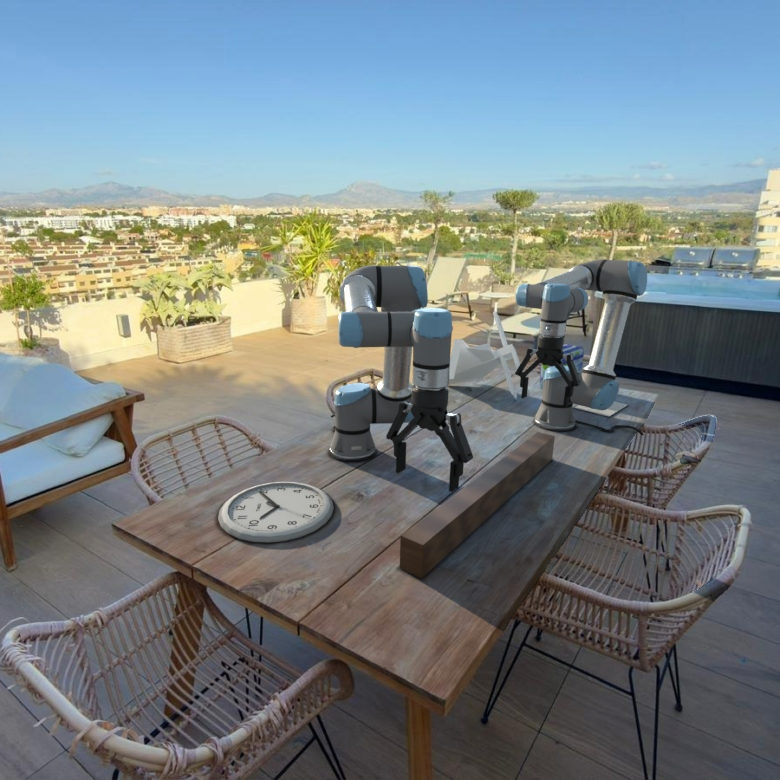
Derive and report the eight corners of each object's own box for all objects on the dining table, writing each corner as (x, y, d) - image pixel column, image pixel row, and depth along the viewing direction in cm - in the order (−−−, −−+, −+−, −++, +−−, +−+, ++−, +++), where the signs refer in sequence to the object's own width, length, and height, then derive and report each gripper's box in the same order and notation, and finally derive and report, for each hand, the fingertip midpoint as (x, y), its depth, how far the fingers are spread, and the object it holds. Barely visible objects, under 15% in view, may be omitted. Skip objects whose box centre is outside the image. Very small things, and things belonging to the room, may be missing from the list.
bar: (535, 454, 177) (537, 431, 175) (552, 459, 174) (554, 436, 171) (399, 568, 117) (400, 535, 114) (421, 578, 114) (422, 545, 111)
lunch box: (556, 397, 238) (561, 352, 232) (535, 391, 245) (539, 348, 239) (582, 385, 256) (588, 344, 249) (562, 381, 263) (567, 340, 257)
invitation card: (608, 416, 214) (573, 407, 224) (608, 416, 214) (573, 408, 224) (628, 404, 229) (594, 396, 238) (628, 405, 229) (594, 397, 238)
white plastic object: (461, 429, 252) (437, 405, 227) (444, 352, 274) (420, 323, 250) (535, 404, 240) (518, 377, 215) (510, 326, 262) (492, 293, 237)
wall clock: (332, 534, 126) (204, 538, 124) (332, 540, 127) (205, 544, 124) (334, 477, 155) (230, 480, 152) (334, 482, 155) (231, 485, 153)
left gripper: (371, 378, 111) (370, 469, 117) (476, 402, 96) (469, 505, 103) (392, 371, 116) (390, 458, 123) (494, 393, 102) (486, 490, 108)
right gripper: (508, 332, 163) (502, 396, 169) (589, 343, 149) (580, 413, 155) (518, 328, 169) (512, 391, 175) (597, 339, 155) (588, 406, 161)
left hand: (426, 479), depth 113 cm, fingers open, 13 cm apart
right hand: (544, 401), depth 165 cm, fingers open, 13 cm apart
